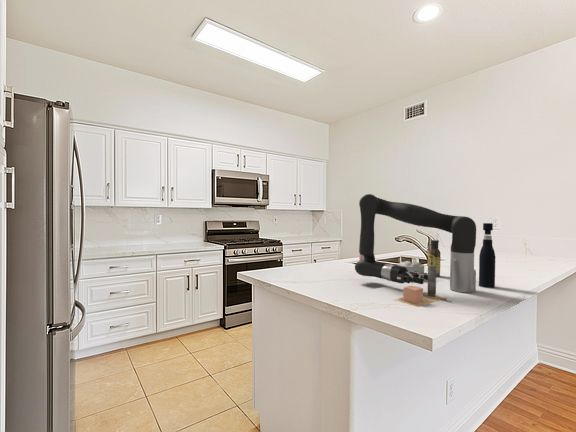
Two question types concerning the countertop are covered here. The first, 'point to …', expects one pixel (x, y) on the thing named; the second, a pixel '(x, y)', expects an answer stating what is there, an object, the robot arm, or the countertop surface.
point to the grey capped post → (431, 293)
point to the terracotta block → (413, 294)
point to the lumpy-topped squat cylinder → (413, 266)
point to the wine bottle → (487, 259)
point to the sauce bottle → (434, 256)
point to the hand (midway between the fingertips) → (428, 280)
